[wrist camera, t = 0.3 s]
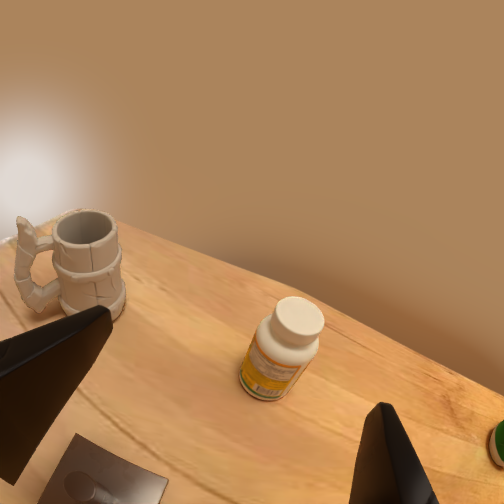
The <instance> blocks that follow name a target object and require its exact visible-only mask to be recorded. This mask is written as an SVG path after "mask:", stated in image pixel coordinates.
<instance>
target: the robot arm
mask: <svg viewBox="0 0 504 504" xmlns="http://www.w3.org/2000/svg"><path fill="white" fill-rule="evenodd" d="M112 329H113V323H112V316H111V311H110V309H108V308H107V307H105V306H103V305H97V306H94V307H91V308H89V309H86V310H83V311H81V312H78V313H75V314H73V315H70V316H67V317H65V318H62V319H59V320H57V321H54V322H51V323H49V324H46V325H43V326H41V327H38V328H35V329H33V330H30V331H27V332H25V333H22V334H19V335H17V336H14V337H12V338H9V339H6V340H3V341H1V342H0V478H1V479H3V480H4V481H6V482H8V483H9V484H11V485H12V486H14V485H15V483H16V482H17V480H18V478H19V476H20V475H21V473H22V471H23V470H24V468H25V466H26V465H27V463H28V462H29V460H30V458H31V457H32V455H33V453H34V452H35V450H36V448H37V447H38V445H39V444H40V442H41V440H42V439H43V437H44V436H45V434H46V433H47V431H48V430H49V428H50V427H51V425H52V423H53V422H54V420H55V419H56V417H57V416H58V414H59V413H60V411H61V410H62V409H63V407H64V406H65V404H66V403H67V401H68V400H69V398H70V397H71V395H72V394H73V392H74V391H75V390H76V388H77V387H78V385H79V384H80V383H81V381H82V380H83V378H84V377H85V375H86V374H87V373H88V371H89V370H90V368H91V367H92V365H93V364H94V362H95V360H96V359H97V357H98V355H99V353H100V351H101V350H102V348H103V346H104V344H105V343H106V341H107V339H108V338H109V336H110V334H111V332H112ZM349 504H439V502H438V500H437V498H436V495H435V493H434V491H433V489H432V487H431V484H430V482H429V480H428V478H427V475H426V473H425V471H424V469H423V467H422V465H421V463H420V460H419V458H418V456H417V454H416V452H415V450H414V448H413V446H412V444H411V442H410V439H409V437H408V435H407V433H406V431H405V429H404V427H403V425H402V423H401V421H400V419H399V417H398V415H397V413H396V411H395V409H394V407H393V406H392V405H391V404H389V403H384V402H380V403H378V404H377V405H376V406H375V407H374V408H373V409H372V410H371V412H370V413H369V414H368V415H367V417H366V419H365V423H364V427H363V432H362V436H361V441H360V445H359V449H358V453H357V457H356V462H355V469H354V475H353V482H352V488H351V494H350V499H349Z"/></svg>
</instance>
